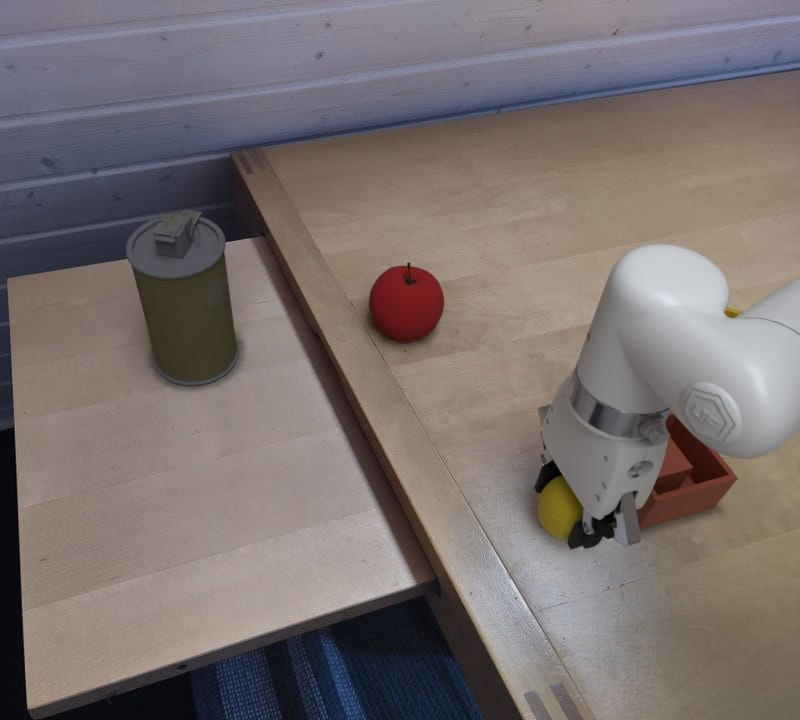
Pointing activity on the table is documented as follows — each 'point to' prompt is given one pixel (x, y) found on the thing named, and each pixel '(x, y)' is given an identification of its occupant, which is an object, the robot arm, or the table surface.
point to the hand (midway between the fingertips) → (565, 513)
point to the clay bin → (689, 481)
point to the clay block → (672, 470)
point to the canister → (185, 296)
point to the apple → (406, 303)
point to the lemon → (559, 508)
